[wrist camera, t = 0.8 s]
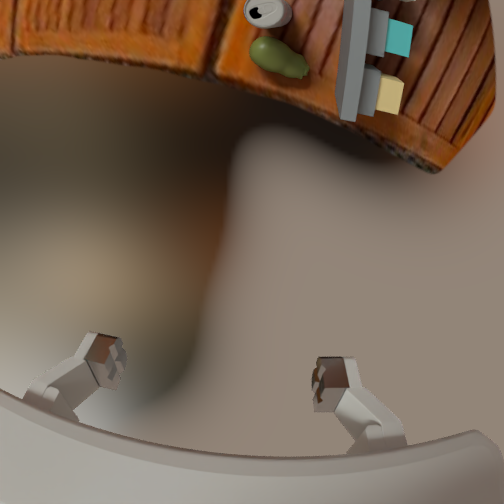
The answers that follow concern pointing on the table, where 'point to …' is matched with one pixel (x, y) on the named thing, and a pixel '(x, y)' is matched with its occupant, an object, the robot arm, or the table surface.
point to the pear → (278, 57)
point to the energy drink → (267, 13)
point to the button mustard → (389, 94)
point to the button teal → (398, 38)
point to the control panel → (359, 58)
